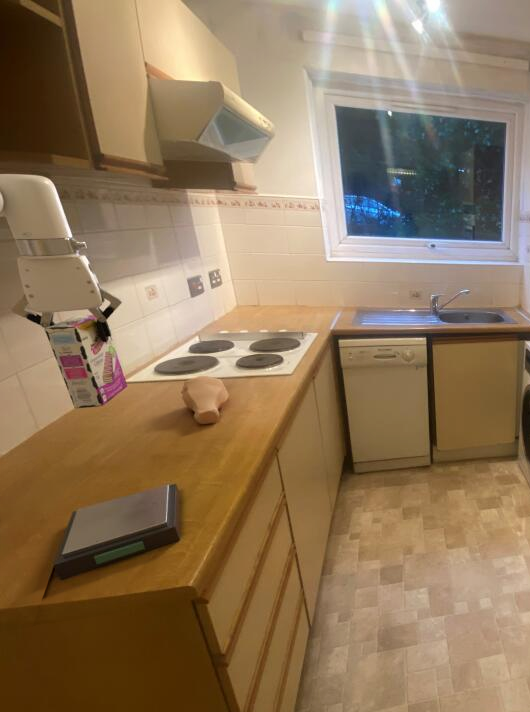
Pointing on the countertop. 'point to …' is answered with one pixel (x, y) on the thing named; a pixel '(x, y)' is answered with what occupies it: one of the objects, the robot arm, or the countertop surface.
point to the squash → (205, 398)
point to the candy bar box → (86, 361)
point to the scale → (121, 543)
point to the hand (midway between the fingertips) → (83, 342)
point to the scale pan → (117, 520)
